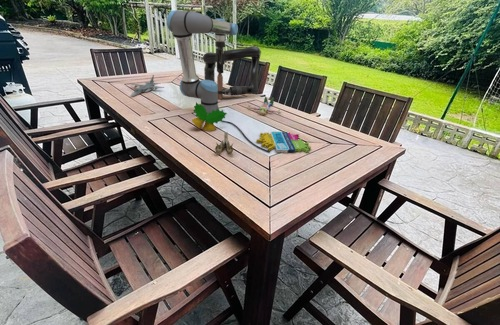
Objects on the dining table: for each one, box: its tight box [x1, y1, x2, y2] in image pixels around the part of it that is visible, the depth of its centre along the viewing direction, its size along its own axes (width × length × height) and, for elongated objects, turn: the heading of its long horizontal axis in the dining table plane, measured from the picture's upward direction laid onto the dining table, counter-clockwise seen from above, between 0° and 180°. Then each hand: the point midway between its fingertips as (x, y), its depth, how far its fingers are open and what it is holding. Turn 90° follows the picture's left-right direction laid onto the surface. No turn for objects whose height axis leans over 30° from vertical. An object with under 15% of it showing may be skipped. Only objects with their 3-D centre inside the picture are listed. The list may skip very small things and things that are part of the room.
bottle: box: [216, 72, 224, 100], centre depth 219 cm, size 4×4×23 cm
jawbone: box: [214, 131, 234, 156], centre depth 136 cm, size 9×15×10 cm
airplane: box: [130, 74, 165, 97], centre depth 228 cm, size 38×32×10 cm
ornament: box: [191, 102, 228, 132], centre depth 162 cm, size 21×8×15 cm, turn 105°
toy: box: [246, 95, 283, 116], centre depth 203 cm, size 28×7×30 cm
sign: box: [256, 131, 312, 154], centre depth 152 cm, size 26×2×30 cm
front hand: (220, 72), depth 214 cm, fingers open, 6 cm apart
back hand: (216, 91), depth 220 cm, fingers closed on bottle, 4 cm apart
